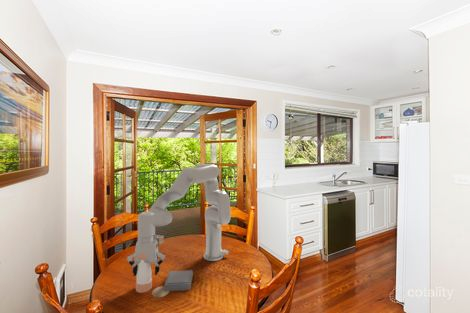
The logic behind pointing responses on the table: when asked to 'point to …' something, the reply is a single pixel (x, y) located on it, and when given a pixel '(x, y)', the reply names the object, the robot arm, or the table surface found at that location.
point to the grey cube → (160, 239)
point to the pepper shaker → (143, 275)
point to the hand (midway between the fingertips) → (146, 274)
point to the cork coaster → (159, 292)
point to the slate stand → (178, 280)
